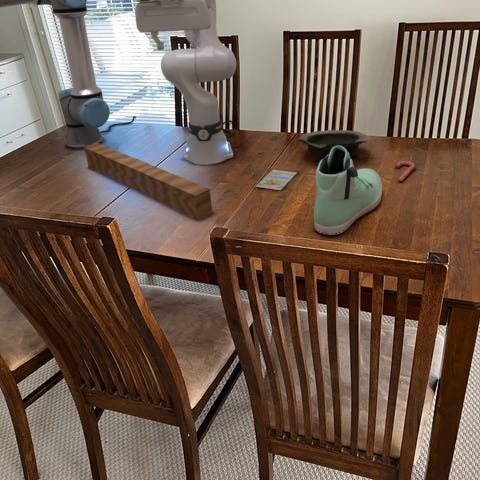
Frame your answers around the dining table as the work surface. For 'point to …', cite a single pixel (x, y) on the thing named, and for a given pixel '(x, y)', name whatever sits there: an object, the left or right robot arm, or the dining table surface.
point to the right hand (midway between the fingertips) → (177, 48)
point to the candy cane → (406, 170)
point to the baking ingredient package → (276, 179)
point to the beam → (151, 181)
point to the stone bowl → (333, 142)
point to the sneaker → (343, 192)
